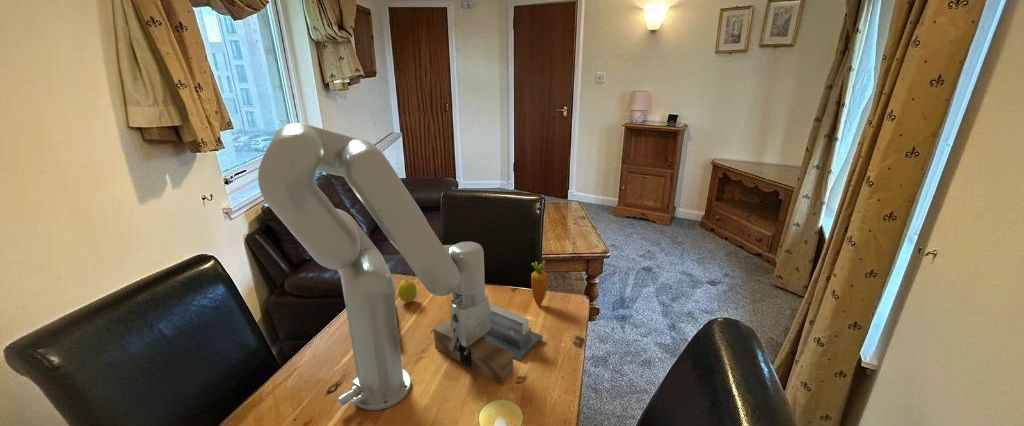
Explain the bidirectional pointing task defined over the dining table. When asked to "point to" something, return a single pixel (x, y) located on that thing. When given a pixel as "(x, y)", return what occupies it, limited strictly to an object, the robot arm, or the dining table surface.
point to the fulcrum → (511, 332)
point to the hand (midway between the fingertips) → (472, 358)
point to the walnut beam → (478, 354)
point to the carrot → (539, 283)
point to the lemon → (407, 291)
